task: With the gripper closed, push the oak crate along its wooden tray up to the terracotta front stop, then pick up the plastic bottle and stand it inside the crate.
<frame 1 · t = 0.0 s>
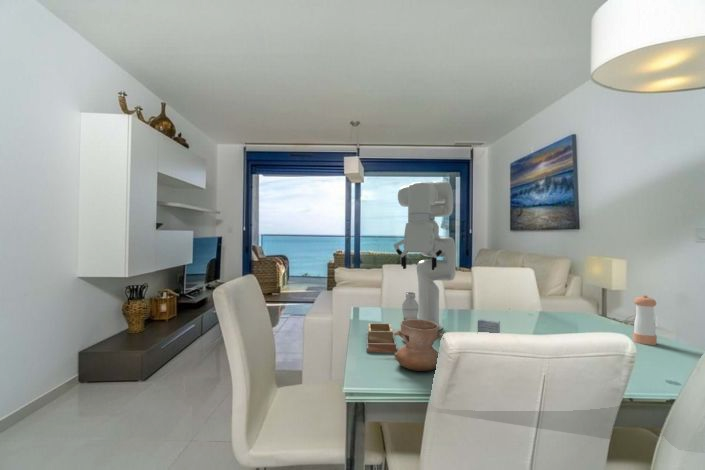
hand: (418, 269, 116), 31 cm above the table, tool pointing down, fingers open, 9 cm apart
medicine box: (488, 342, 138), on the table
ceramic jug: (420, 367, 111), on the table
wooden tray: (380, 344, 134), on the table
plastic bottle: (410, 343, 135), on the table
crate: (380, 332, 138), point 3 cm above the table, slide at 0.0 cm
pepper shaker: (644, 342, 139), on the table
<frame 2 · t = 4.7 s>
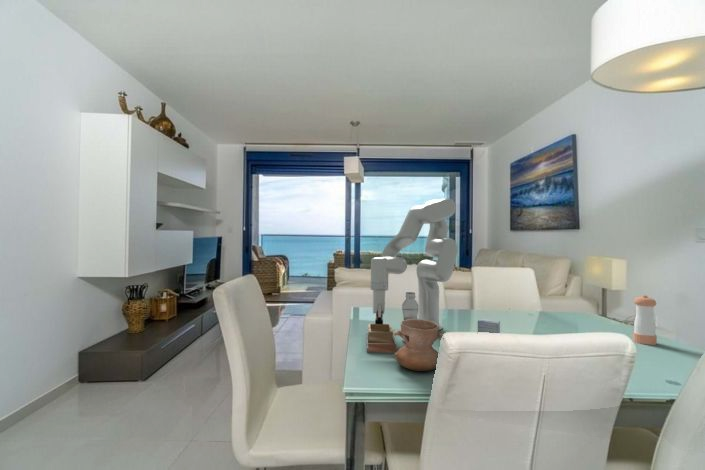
hand: (379, 329, 146), 3 cm above the table, tool pointing down, fingers closed
crate: (380, 333, 137), point 3 cm above the table, slide at 0.8 cm, touching gripper
everything else where it was.
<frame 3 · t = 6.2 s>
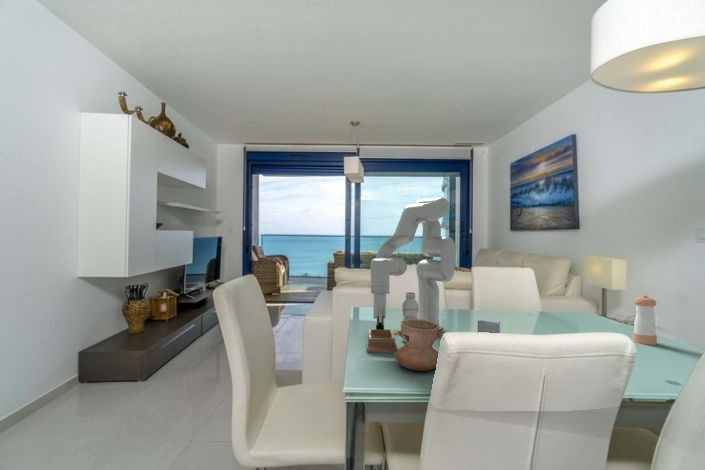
hand: (380, 334, 137), 3 cm above the table, tool pointing down, fingers closed
crate: (381, 339, 129), point 3 cm above the table, slide at 9.3 cm, touching gripper
everything else where it was.
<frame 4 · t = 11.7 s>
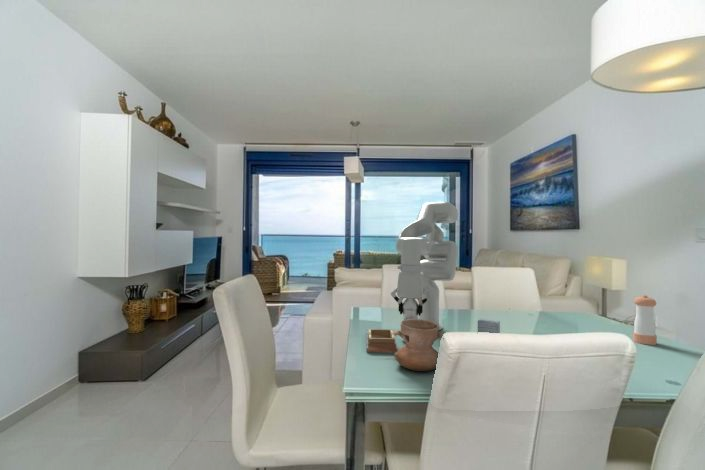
hand: (410, 313, 135), 12 cm above the table, tool pointing down, fingers closed on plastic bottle, 6 cm apart
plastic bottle: (410, 343, 135), on the table, touching gripper
crate: (381, 339, 129), point 3 cm above the table, slide at 9.0 cm
everything else where it was.
when the fingers open (15 cm above the table, at t = 16.8 s): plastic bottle drops 1 cm, resting on crate.
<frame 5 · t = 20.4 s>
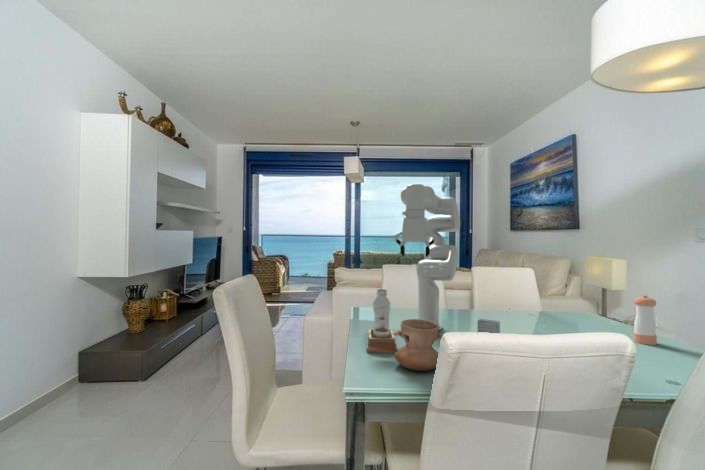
hand: (414, 256, 140), 34 cm above the table, tool pointing down, fingers open, 9 cm apart
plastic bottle: (381, 343, 129), point 2 cm above the table, touching crate
crate: (381, 339, 129), point 3 cm above the table, slide at 9.0 cm, touching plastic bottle
everything else where it was.
at the end: crate slide at 9.0 cm; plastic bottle inside the target area (0.3 cm from its centre), point 1.7 cm above the table; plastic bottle tilted 0° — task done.
